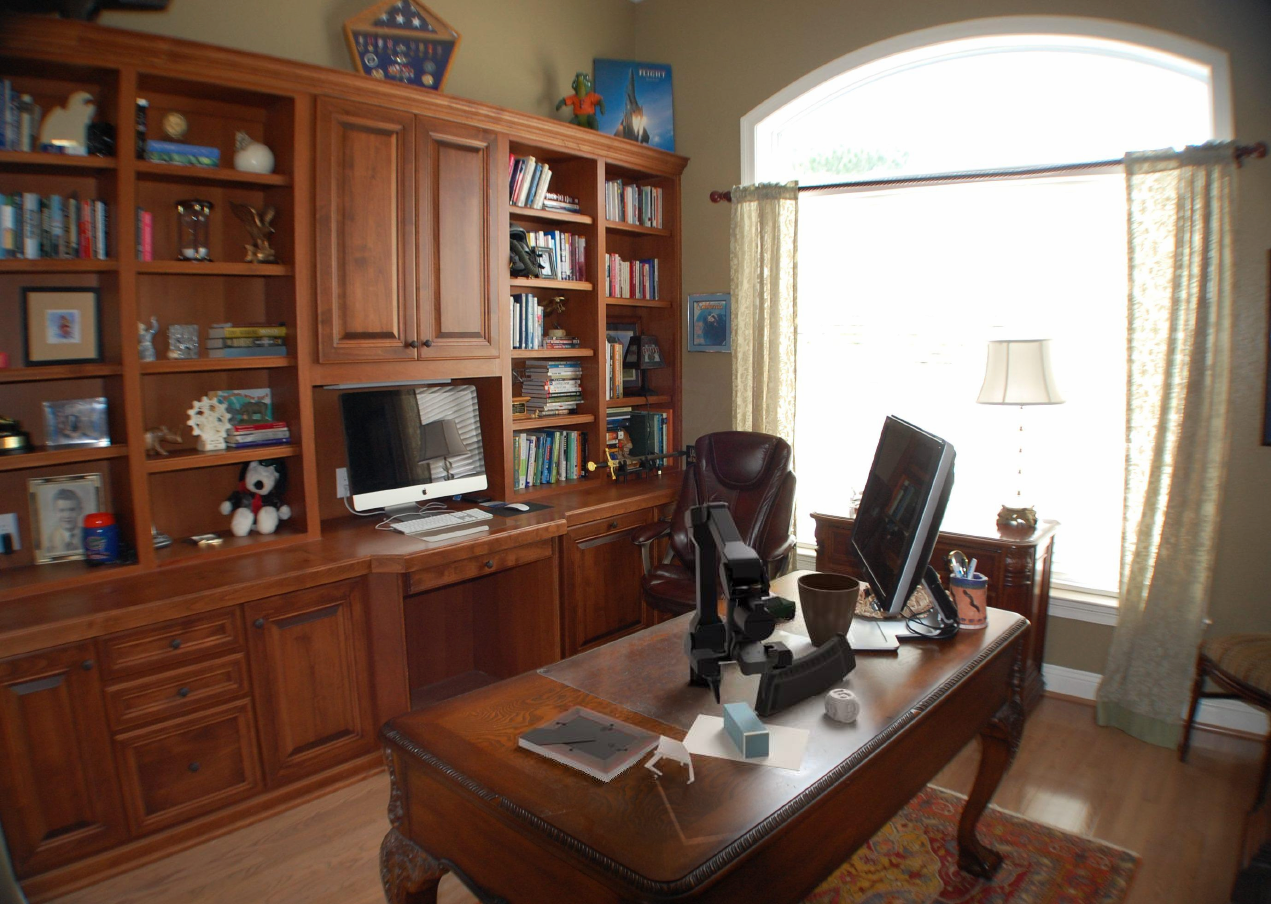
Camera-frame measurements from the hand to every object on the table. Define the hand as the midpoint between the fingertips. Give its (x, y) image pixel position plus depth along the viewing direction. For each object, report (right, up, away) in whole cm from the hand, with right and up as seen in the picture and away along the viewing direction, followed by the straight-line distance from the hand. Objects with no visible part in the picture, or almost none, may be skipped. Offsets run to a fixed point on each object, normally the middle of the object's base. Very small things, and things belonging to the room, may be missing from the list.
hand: (741, 700), depth 152 cm
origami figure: (-13, -10, -12) cm, 20 cm away
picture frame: (-28, -9, 0) cm, 30 cm away
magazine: (+16, -5, +18) cm, 25 cm away
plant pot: (+27, -1, +46) cm, 54 cm away
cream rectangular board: (+1, -8, -1) cm, 8 cm away
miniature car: (+14, +2, +64) cm, 65 cm away
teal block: (-1, -4, +4) cm, 6 cm away
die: (+21, -6, +8) cm, 24 cm away
